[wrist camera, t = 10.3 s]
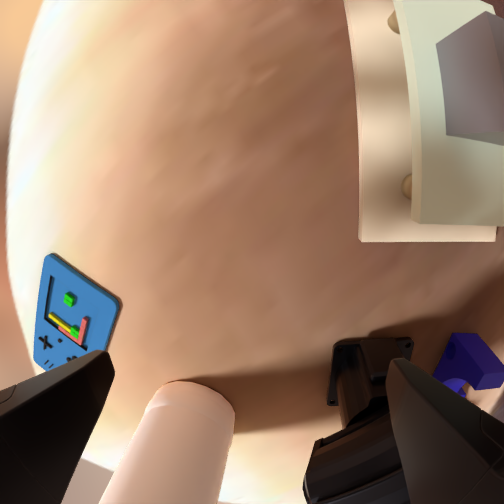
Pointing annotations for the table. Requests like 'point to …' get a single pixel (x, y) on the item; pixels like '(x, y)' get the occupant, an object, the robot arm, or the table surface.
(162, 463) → the bottle
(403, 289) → the table surface
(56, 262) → the handheld gaming device
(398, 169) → the plate
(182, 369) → the table surface
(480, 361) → the cable clip
